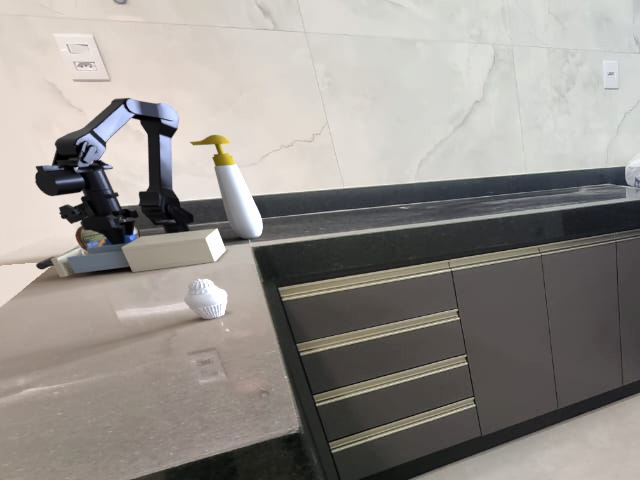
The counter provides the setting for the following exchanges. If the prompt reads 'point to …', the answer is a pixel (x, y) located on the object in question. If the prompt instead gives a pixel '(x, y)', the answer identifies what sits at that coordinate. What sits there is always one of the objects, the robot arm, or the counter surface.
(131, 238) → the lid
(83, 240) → the tin
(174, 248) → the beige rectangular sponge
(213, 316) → the muffin
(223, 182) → the soap bottle
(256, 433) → the counter surface
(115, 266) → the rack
